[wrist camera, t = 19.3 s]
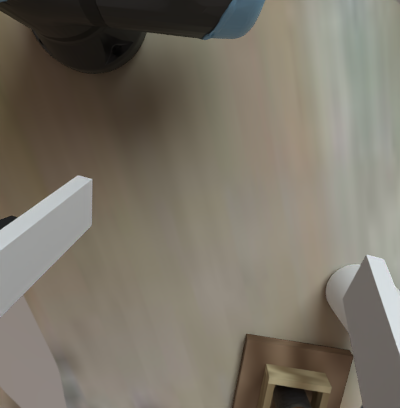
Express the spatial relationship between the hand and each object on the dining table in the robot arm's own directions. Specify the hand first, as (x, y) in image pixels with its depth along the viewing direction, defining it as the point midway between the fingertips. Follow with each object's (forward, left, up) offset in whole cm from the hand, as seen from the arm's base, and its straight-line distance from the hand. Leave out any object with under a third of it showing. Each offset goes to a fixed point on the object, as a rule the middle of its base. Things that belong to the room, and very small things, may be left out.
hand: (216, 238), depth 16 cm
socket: (+17, -32, -32) cm, 48 cm away
